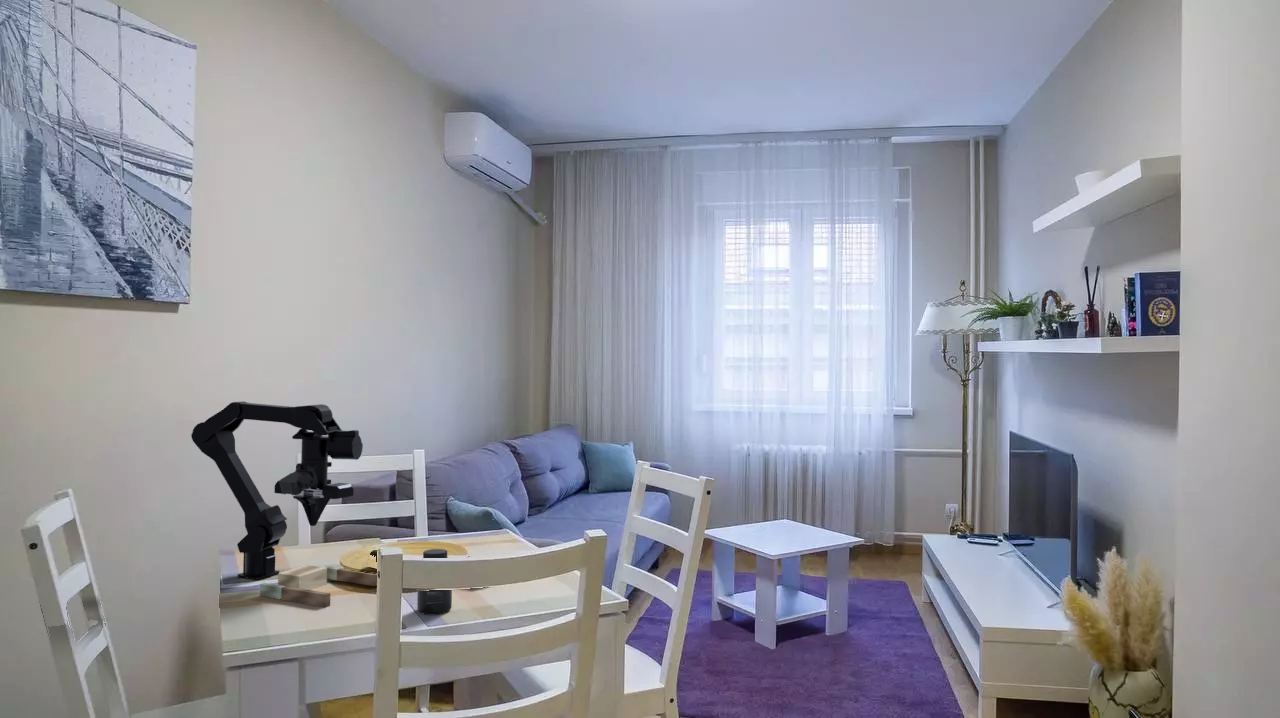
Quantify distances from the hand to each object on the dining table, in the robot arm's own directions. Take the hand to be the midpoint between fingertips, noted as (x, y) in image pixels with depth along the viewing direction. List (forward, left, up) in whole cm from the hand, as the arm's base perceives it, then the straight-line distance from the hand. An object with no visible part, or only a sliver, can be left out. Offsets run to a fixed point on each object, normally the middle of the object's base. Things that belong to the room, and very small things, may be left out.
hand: (312, 525), depth 178 cm
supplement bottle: (+40, -8, -12) cm, 43 cm away
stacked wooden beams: (+10, -7, -12) cm, 17 cm away
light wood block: (+4, -7, -12) cm, 15 cm away
